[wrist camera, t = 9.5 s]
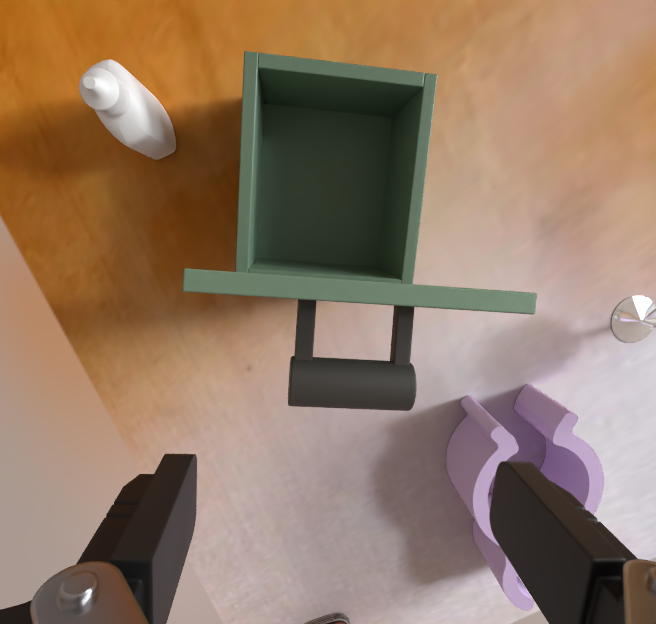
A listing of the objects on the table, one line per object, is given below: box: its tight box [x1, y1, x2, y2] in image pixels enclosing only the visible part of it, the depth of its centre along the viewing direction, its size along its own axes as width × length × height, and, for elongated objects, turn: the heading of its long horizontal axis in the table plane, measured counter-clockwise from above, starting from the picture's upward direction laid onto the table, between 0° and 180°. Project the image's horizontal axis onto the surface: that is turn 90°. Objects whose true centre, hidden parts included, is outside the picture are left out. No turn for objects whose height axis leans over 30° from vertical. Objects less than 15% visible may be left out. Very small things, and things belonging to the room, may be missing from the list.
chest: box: [235, 51, 437, 284], centre depth 35 cm, size 15×13×10 cm
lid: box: [183, 268, 537, 411], centre depth 24 cm, size 16×13×5 cm
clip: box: [446, 384, 604, 611], centre depth 44 cm, size 20×12×7 cm, turn 9°
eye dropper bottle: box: [79, 60, 176, 160], centre depth 32 cm, size 4×6×12 cm
